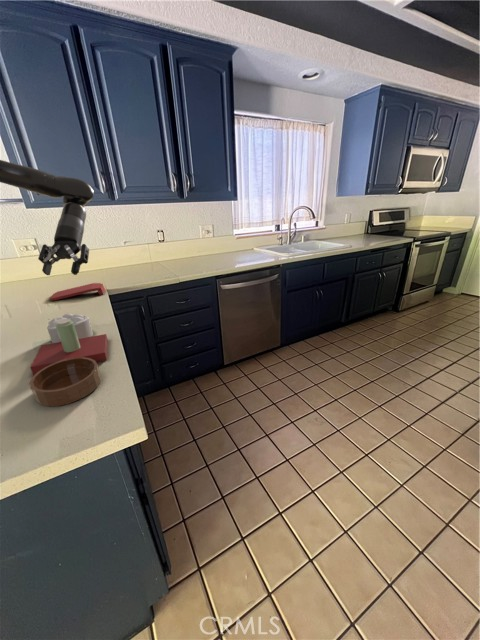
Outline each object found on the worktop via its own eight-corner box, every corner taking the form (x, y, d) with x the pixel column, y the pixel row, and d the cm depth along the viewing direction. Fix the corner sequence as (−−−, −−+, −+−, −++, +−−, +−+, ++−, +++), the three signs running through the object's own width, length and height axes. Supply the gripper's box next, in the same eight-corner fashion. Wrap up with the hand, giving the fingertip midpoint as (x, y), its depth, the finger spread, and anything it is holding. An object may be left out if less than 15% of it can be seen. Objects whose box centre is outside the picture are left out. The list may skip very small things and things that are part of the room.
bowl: (28, 415, 64) (21, 399, 62) (43, 378, 77) (38, 364, 75) (99, 397, 70) (95, 382, 68) (102, 366, 83) (98, 352, 81)
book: (33, 375, 79) (29, 367, 78) (43, 352, 90) (40, 345, 89) (106, 360, 86) (104, 352, 85) (107, 341, 98) (106, 333, 96)
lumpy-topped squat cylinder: (54, 336, 101) (47, 315, 98) (92, 328, 107) (87, 309, 103) (52, 348, 93) (44, 326, 89) (93, 339, 99) (87, 318, 95)
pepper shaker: (62, 353, 84) (53, 325, 80) (65, 346, 88) (56, 319, 84) (79, 350, 86) (71, 322, 82) (81, 343, 90) (73, 317, 86)
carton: (53, 307, 138) (102, 295, 144) (48, 299, 136) (99, 286, 142) (59, 300, 149) (105, 288, 154) (55, 292, 146) (102, 280, 152)
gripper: (40, 224, 85) (28, 267, 80) (85, 224, 86) (76, 267, 80) (55, 239, 92) (45, 280, 87) (96, 238, 93) (89, 279, 87)
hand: (60, 273), depth 83 cm, fingers open, 8 cm apart
